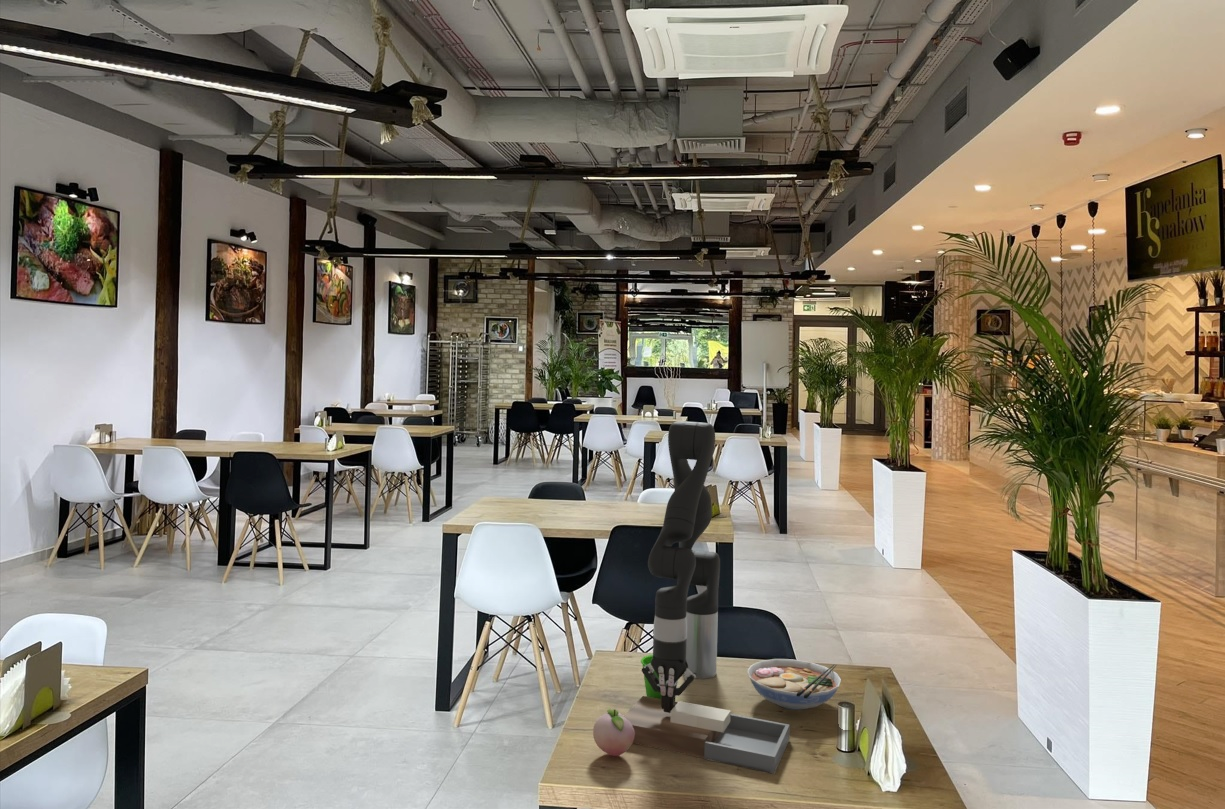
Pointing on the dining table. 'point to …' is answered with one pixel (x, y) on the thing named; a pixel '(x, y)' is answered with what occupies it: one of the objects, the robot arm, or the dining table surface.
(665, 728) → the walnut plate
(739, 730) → the box
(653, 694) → the cup
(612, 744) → the decorative fruit
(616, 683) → the dining table surface
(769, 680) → the ramen bowl
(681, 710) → the tile
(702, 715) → the tile
